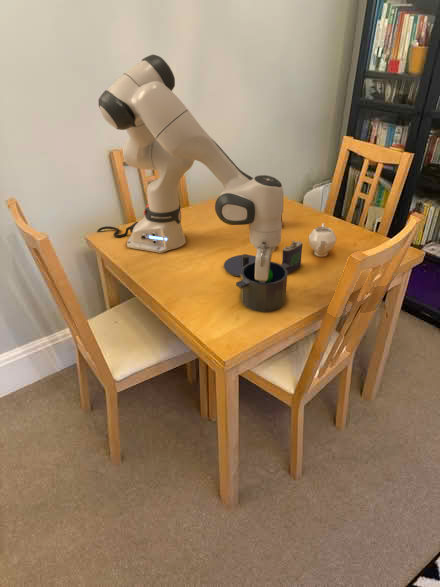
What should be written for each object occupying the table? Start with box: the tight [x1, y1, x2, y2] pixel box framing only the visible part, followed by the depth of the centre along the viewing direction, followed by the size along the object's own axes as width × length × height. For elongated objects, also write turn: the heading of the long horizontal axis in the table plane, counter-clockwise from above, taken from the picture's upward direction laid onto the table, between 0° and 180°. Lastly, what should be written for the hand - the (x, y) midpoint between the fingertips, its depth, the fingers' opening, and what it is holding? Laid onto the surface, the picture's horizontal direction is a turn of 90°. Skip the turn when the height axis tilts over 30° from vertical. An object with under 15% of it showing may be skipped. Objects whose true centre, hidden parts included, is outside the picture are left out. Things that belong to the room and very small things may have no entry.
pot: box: [235, 261, 291, 313], centre depth 126 cm, size 14×19×10 cm
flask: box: [281, 240, 303, 276], centre depth 140 cm, size 9×3×11 cm, turn 134°
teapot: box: [308, 222, 337, 257], centre depth 149 cm, size 10×20×9 cm, turn 168°
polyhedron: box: [258, 269, 273, 283], centre depth 124 cm, size 5×5×5 cm
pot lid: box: [223, 253, 256, 278], centre depth 143 cm, size 15×15×5 cm
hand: (263, 277), depth 124 cm, fingers closed on polyhedron, 5 cm apart
